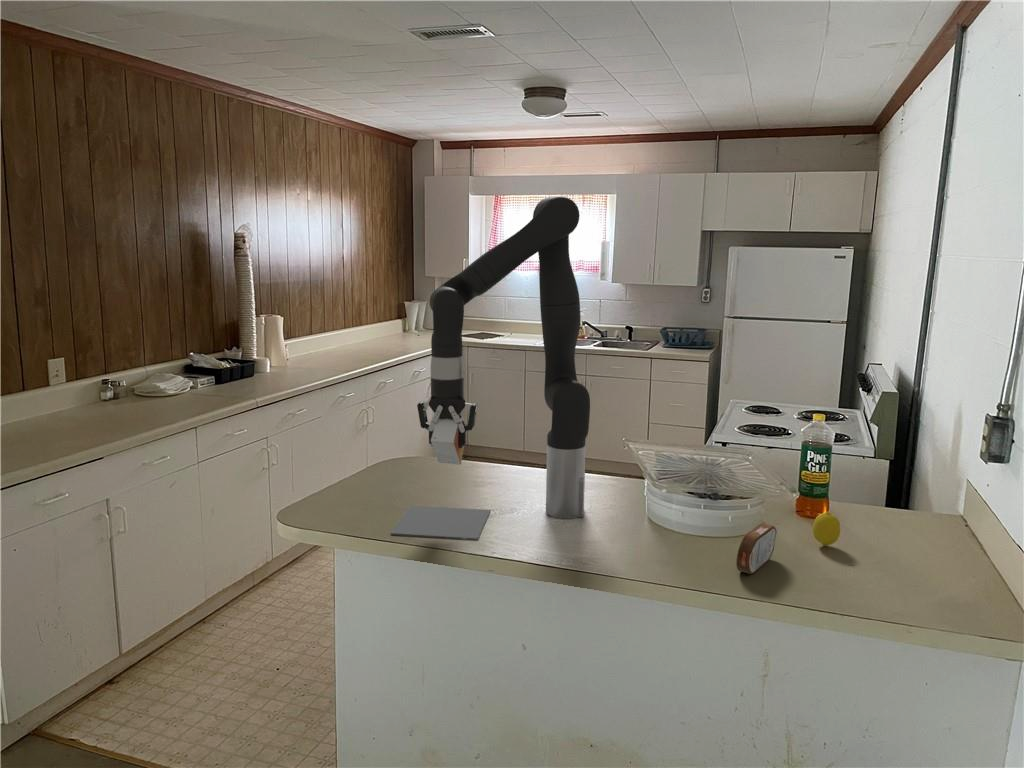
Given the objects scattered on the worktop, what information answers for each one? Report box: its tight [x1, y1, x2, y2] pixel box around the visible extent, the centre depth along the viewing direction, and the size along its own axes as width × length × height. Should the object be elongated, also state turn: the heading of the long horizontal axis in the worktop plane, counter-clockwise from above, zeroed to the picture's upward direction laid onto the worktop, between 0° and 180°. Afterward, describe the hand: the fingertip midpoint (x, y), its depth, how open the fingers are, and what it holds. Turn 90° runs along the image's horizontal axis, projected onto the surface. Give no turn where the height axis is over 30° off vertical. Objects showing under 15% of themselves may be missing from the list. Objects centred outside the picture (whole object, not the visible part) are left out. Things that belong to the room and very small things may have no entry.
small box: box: [430, 414, 468, 466], centre depth 178 cm, size 8×6×10 cm
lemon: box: [812, 511, 841, 547], centre depth 166 cm, size 6×6×8 cm
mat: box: [390, 505, 491, 540], centre depth 179 cm, size 20×18×1 cm
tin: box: [735, 521, 777, 575], centre depth 156 cm, size 15×3×8 cm, turn 141°
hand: (447, 446), depth 177 cm, fingers closed on small box, 6 cm apart
